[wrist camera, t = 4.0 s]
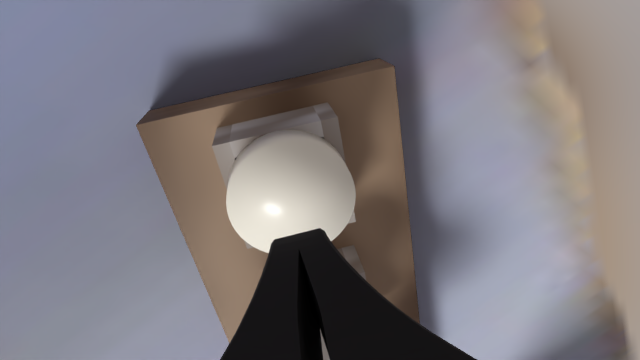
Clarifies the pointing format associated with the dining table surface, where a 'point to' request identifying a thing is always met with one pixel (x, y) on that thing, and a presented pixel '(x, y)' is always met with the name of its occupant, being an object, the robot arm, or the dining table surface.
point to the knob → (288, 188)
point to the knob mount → (289, 114)
